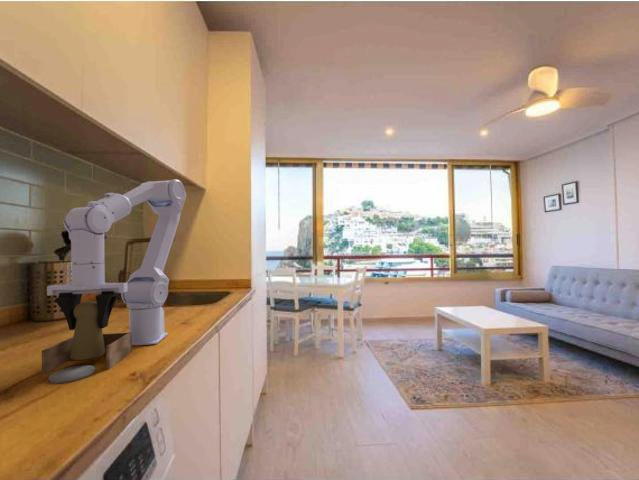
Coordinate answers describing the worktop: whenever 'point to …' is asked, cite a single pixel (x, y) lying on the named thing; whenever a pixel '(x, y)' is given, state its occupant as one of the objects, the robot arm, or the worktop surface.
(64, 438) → the worktop surface
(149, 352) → the worktop surface
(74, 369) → the coaster
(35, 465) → the worktop surface
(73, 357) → the pepper mill
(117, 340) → the open wooden enclosure
